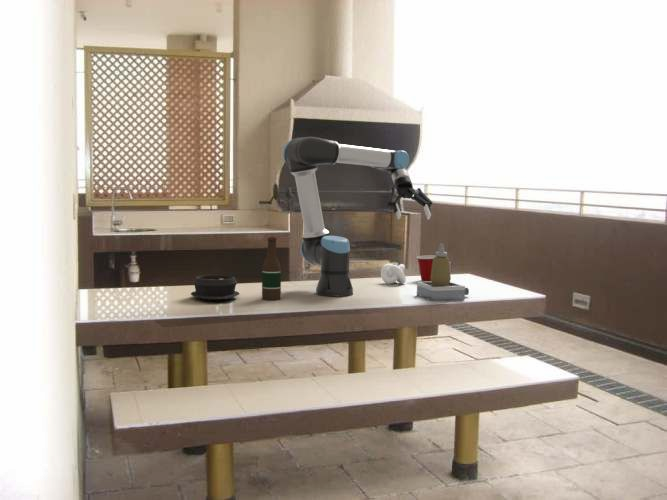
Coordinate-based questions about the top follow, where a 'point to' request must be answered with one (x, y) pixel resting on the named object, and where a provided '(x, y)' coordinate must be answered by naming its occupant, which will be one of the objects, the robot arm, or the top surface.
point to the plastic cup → (425, 266)
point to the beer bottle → (271, 273)
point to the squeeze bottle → (440, 268)
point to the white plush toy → (393, 273)
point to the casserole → (215, 287)
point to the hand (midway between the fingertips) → (414, 217)
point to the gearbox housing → (441, 291)
